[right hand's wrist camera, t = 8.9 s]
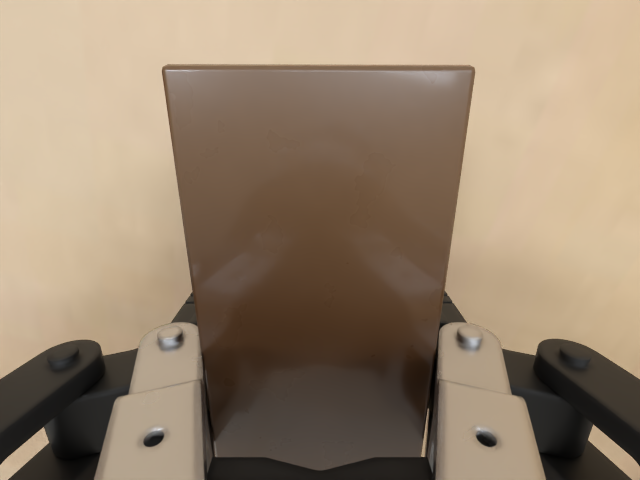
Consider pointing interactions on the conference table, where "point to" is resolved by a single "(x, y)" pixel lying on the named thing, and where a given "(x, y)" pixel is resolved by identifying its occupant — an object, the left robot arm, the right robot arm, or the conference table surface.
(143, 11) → the conference table surface
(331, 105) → the post
